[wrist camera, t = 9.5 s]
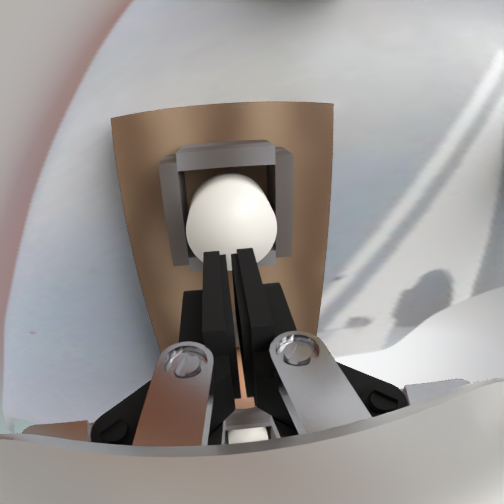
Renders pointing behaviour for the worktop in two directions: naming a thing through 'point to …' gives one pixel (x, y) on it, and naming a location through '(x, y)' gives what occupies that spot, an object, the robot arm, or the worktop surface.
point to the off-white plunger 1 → (230, 217)
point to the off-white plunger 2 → (247, 435)
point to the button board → (215, 162)
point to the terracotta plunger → (242, 387)
